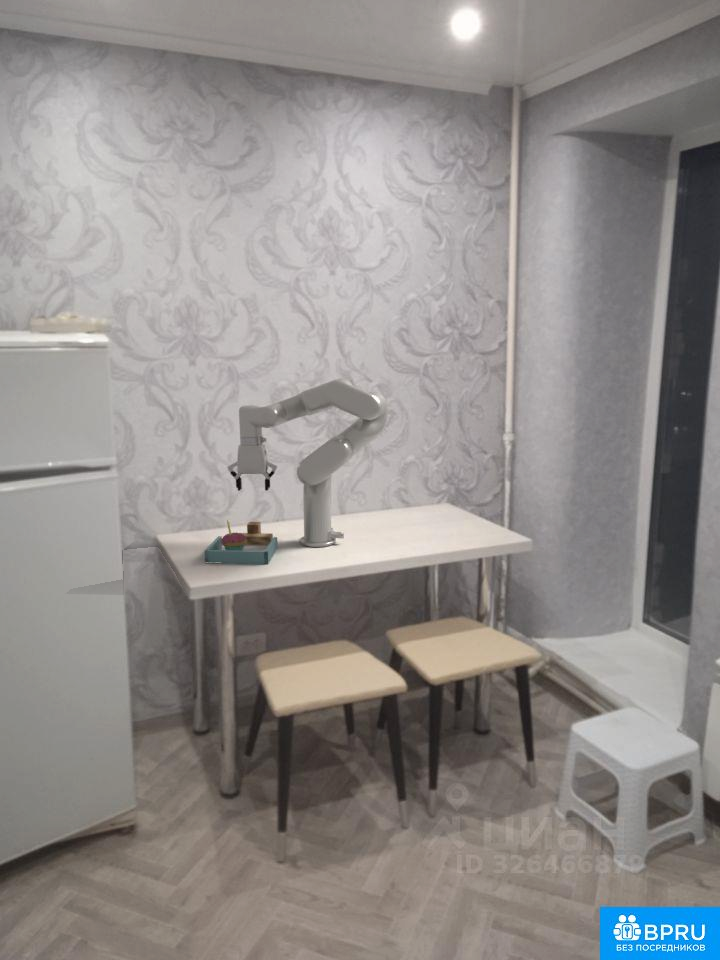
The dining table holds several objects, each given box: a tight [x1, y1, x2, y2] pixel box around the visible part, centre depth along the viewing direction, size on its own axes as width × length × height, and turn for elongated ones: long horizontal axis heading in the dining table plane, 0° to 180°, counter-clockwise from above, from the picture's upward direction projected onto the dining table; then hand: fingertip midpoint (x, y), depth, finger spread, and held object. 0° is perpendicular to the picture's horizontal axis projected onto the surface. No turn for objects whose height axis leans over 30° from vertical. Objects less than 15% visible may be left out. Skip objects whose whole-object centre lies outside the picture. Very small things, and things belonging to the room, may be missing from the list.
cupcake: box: [221, 519, 247, 551], centre depth 241 cm, size 9×8×12 cm
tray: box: [203, 535, 279, 565], centre depth 240 cm, size 20×17×4 cm
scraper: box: [240, 521, 274, 546], centre depth 256 cm, size 14×8×6 cm, turn 86°
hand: (253, 489), depth 255 cm, fingers open, 9 cm apart
